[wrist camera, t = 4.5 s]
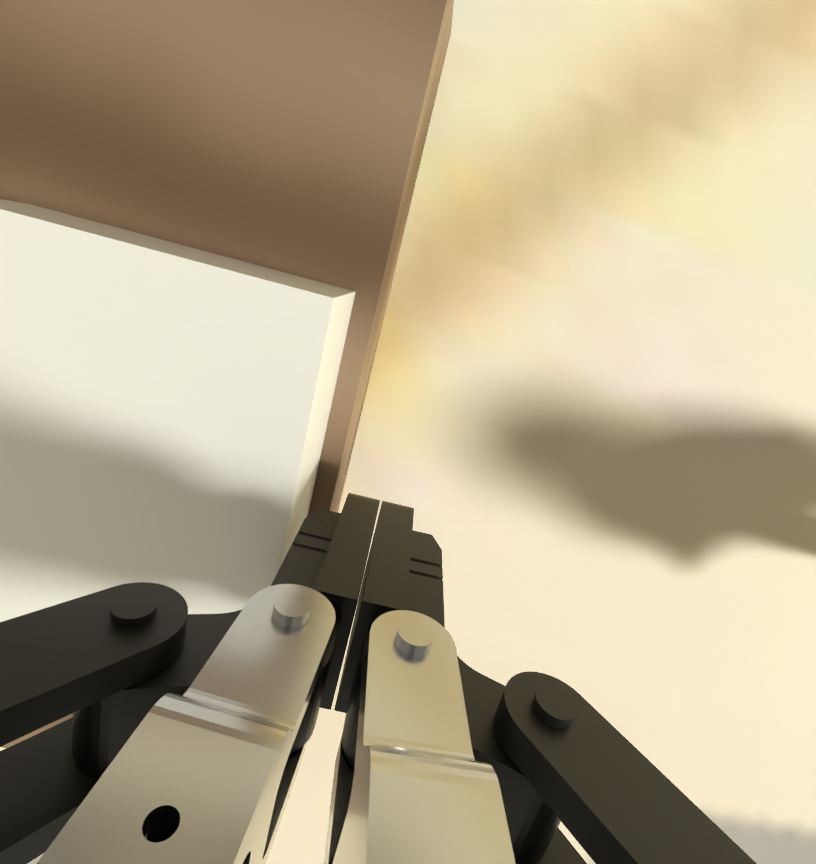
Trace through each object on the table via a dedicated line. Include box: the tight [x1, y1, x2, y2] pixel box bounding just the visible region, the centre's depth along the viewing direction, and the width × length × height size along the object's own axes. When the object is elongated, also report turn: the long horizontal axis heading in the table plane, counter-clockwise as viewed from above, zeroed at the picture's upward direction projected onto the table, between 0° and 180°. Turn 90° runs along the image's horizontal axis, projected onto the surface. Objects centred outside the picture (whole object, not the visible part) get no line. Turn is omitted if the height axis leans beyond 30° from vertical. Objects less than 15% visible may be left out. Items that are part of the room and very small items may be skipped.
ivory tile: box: [0, 199, 355, 622], centre depth 11 cm, size 10×7×2 cm
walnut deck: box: [0, 0, 454, 748], centre depth 13 cm, size 22×12×3 cm, turn 166°
